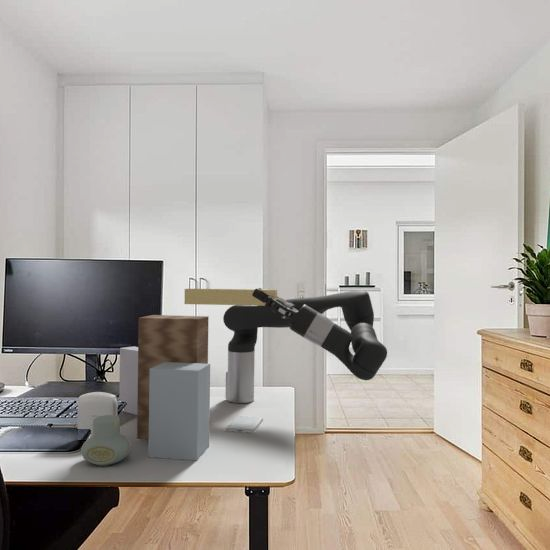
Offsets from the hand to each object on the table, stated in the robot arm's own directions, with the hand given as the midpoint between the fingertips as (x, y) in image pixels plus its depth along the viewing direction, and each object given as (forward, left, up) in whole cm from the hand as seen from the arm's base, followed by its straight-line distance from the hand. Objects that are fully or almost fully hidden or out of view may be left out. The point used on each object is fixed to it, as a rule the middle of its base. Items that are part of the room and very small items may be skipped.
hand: (255, 291), depth 136 cm
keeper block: (-7, -18, -39) cm, 44 cm away
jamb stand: (-19, -12, -39) cm, 45 cm away
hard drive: (-13, +8, -40) cm, 43 cm away
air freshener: (-14, -34, -40) cm, 54 cm away
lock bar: (-5, -4, -4) cm, 8 cm away
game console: (-39, -5, -40) cm, 56 cm away
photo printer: (-30, -28, -40) cm, 57 cm away
